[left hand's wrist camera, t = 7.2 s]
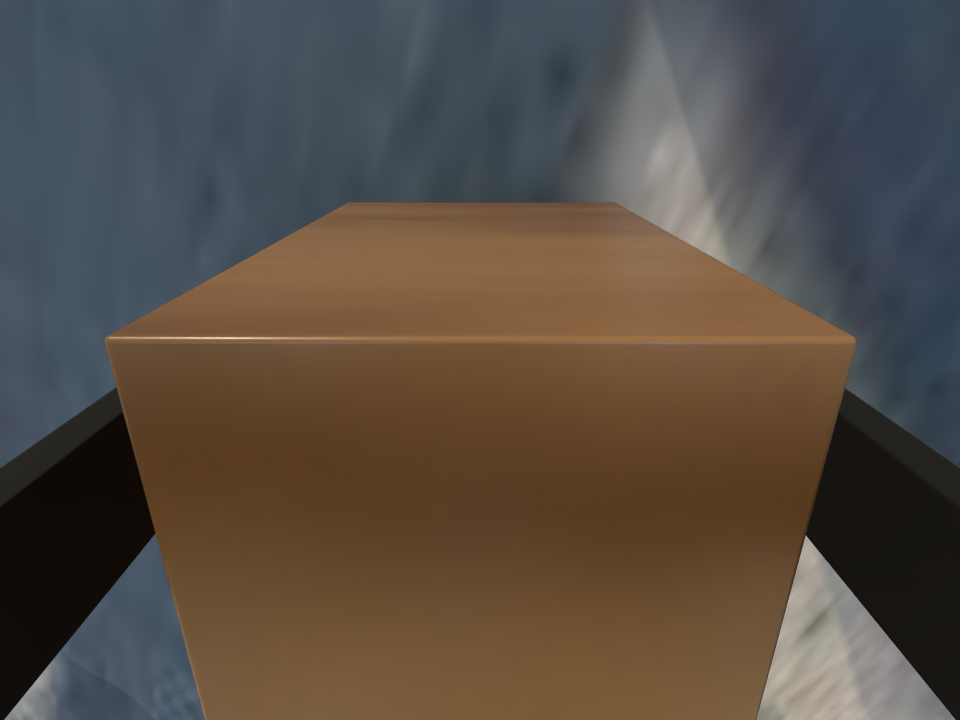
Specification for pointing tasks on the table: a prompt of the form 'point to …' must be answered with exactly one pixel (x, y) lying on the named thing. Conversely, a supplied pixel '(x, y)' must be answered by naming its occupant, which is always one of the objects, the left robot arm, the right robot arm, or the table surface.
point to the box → (480, 467)
